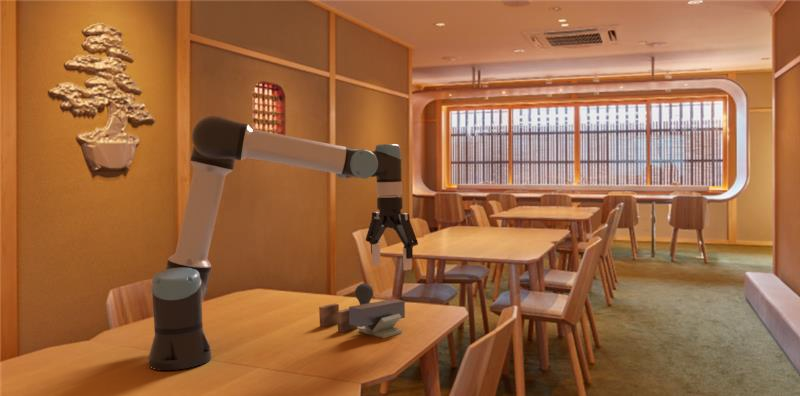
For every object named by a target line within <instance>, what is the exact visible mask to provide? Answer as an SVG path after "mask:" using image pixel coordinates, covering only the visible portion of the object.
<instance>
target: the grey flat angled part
mask: <svg viewBox="0 0 800 396" xmlns="http://www.w3.org/2000/svg"><path fill="white" fill-rule="evenodd" d="M400 318H401V315H400V314H396V315H392V316H388V317H384V318H381V320H380V321H379V322H378V323H377V324H372V325H368V326H363V327H358V332H360V333H364V334H367V335H371V336H375V337H378V338H382V339H386V338H391V337H393V336H396V335H399V334H402V333H403V332H402V330H403V329H401V328H397V327H395V325H396V324H397V323H398V322H399V321H400ZM401 319H402V318H401Z"/></svg>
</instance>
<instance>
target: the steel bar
mask: <svg viewBox="0 0 800 396" xmlns="http://www.w3.org/2000/svg"><path fill="white" fill-rule="evenodd" d="M405 304H406V301H405V300H401V299H396V298H391V299H385V300H380V301H379V300H378V301H374V302H370V303H368V304H362V305H360V304H357V305H351V306H349V307H348V309H349V324H351V325H354V326H358V328H361V327H365V326H368V325H372V324H377V323H378V322H379V321H380V320H381V318H384V317H388V316H392V315H396V314H400V315H401V318H400V319H405V318H406V314H405V313H406V309H405ZM400 319H399V320H400Z"/></svg>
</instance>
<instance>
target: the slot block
mask: <svg viewBox="0 0 800 396" xmlns="http://www.w3.org/2000/svg"><path fill="white" fill-rule="evenodd" d="M318 312H319V315H318V316H319V327H322V328H326V327H330V326H334V325H337V332H339V333H346V332H349V331H352V330H357V329H359V327H358V326H354V325H351V324H349V308H346V309H345V308H344V309H341V310H340V307H339V304H338V303H332V304H331V303H330V304H327V305H322V306H318Z"/></svg>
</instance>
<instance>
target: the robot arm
mask: <svg viewBox="0 0 800 396" xmlns="http://www.w3.org/2000/svg"><path fill="white" fill-rule="evenodd" d="M191 139H192V144H193V147H192V151H191V155H190V156H191V157H190V159H189V160H190V161H189V162H190V163H191V166H192V168H193V173H192V178H191V184H190V187H189V191H188V196H187V200H186V204H185V208H184V213H183V218H182V222H181V227H180V232H179V235H178V240H177V243H176V244H177V245H176V248H175V253H174V254H172V255H170V256H169V257H168V259H167V262H166V266H165V269H164V270H161V271H159V272H156V273H155V274H154V275H153V277H152V283H151V287H150V288H151V292H152V307H153V308H152V309H153V324H154V325H153V326H154V327H153V330H154V337H153V340H152V344H151V348H150V350H149V355H148V367H149V366H150V367H152V368H155V369H160V370H175V371H178V370H177V369H183V370H186V369H185V368H189V369H191V368H190V367H193V368H195V367H194V366H197V367H199V366H198V365H200V366H202V365H204V364H203V363H205V364H206V362H207V361H208V362H210V361H211V359H212V349H211V346H210V343H209V341H208V339H207V337H206V333H205V331H204V328H203V305H202V302H203V300H204V299H205V297H206V295H207V292H208V287H209V284H208V283H209V277H210V274H211V268H212V264H211V262H210V261H209V259H208V257H209V253H210V248H211V243H212V239H213V234H214V232H215V231H214V229H215V225H216V220H217V217H218V212H219V208H220V204H221V197H222V194H223V190H224V186H225V182H226V181H225V180H226V176H227V175H229V174H230V173H232V172H233V171H234V166H235V162H236V161H244V160H245V159H254V160H258V161H265V162H269V163H276V164H282V165H287V166H293V167H298V168H302V169H303V168H304V169H309V170H314V171H320V172H326V173H331V174H332V173H333V174H335V175H336V176H337V177H338V178H341V179H342V178H343V179H349V178H354V179H355V178H356V179H357V178H359V179H363V180H365V179H368V178H373V177H376V196H378V197H377V198H376V207H377V208H376V209H377V210H379V211H373V212H372V213H371V220H370V224H369V227H368V231H367V234H366V237H365V241H366V242H369V244H370V254H371V261H372V262H371V264H372V266H373V267H375V266H376V267H377V266H380V265H381V262H382V261H381V243H380V240H381V238H382V236H383V234H384V233H385V230H386V229H387V228H389V229H393V230H394V231H395V233H396V234H397V235H398V238H399V239H400V241H401V243H402V244H403V247H402V270H403V271H408V270H409V271H410V270H412V266H413V263H412V259H413V257H414V254H413V250H414V247H415V246H418V245H419V241H418V239H417V237H416V235H415V232H414V229H413V225H412V223H411V219H410V214H409V213H408V212H404V213H402V212H401V210H402V209H403V208H404V207H403V198H402V196H401V195H403V182H402V159H403V158H402V152H401V151H402V150H401V146H400V145H399V144H397V143H393V144H392V143H388V144H387V143H385V144H377V145H375V149H374V150H371V151H370V150H368V149H363V148H362V149H359V148H352V147H347V146H344V145H337V144H332V143H327V142H321V141H317V140H311V139H305V138H300V137H295V136H290V135H286V134H280V133H275V132H274V133H273V132H268V131H264V130H259V129H253V128H252V127H251V126H250V125H249V123H248V124H247V123H242V122H238V121H234V120H232V119H228V118H226V117H223V116H221V115H208V116H205V117H204V118H202V119H200V120H199V121H198V122H197V123H196V124H195V126H194V127H193V130H192V133H191ZM208 362H207V363H208ZM201 364H202V365H201ZM150 367H149V368H150Z"/></svg>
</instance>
